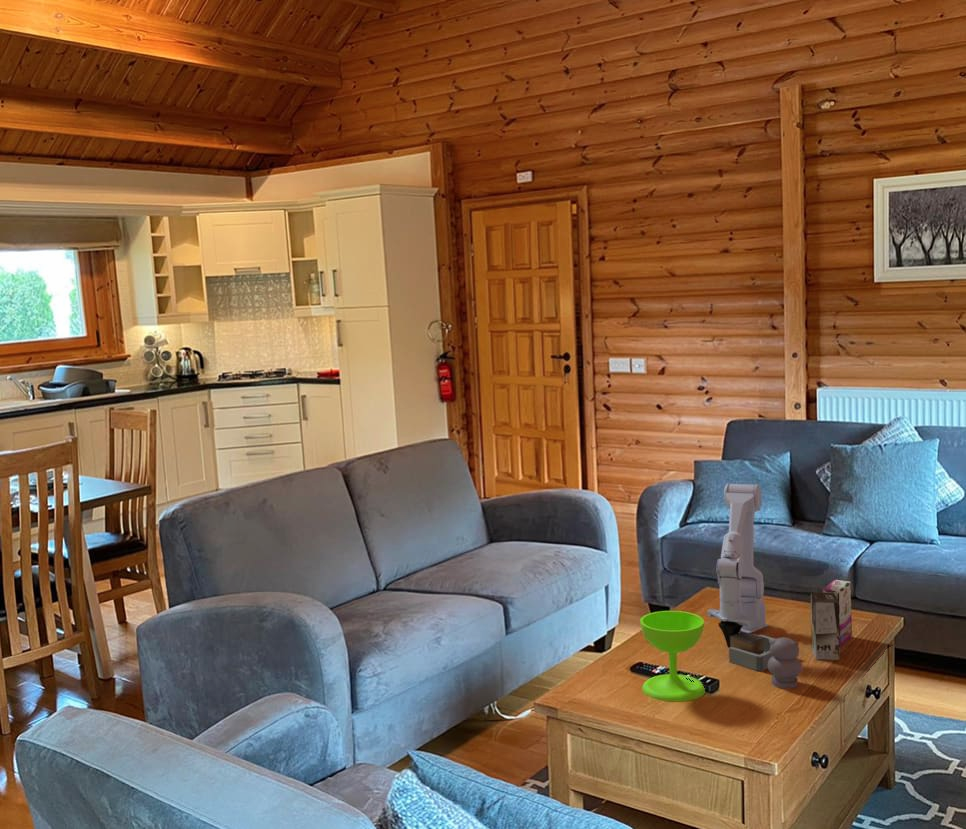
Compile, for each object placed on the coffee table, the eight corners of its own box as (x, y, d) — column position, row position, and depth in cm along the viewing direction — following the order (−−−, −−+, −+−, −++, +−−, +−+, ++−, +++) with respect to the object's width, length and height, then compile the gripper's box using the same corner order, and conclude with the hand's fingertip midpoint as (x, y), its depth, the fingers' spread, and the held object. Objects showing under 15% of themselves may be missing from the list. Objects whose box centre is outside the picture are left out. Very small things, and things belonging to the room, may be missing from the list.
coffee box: (840, 660, 261) (839, 602, 259) (815, 659, 262) (814, 602, 260) (835, 648, 270) (834, 592, 268) (810, 647, 271) (810, 591, 269)
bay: (760, 648, 272) (760, 634, 272) (791, 657, 265) (791, 643, 264) (729, 662, 263) (728, 647, 263) (760, 671, 256) (760, 657, 255)
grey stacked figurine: (805, 680, 248) (805, 635, 247) (798, 692, 242) (798, 645, 240) (772, 675, 253) (771, 631, 251) (764, 686, 246) (763, 641, 245)
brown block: (742, 650, 272) (742, 631, 271) (763, 656, 266) (763, 637, 266) (730, 655, 268) (730, 636, 268) (751, 661, 263) (751, 642, 262)
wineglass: (630, 683, 252) (628, 616, 250) (683, 672, 258) (681, 607, 256) (663, 706, 237) (660, 635, 235) (718, 694, 243) (716, 624, 241)
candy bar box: (834, 633, 281) (834, 578, 279) (852, 636, 278) (851, 581, 276) (822, 645, 272) (821, 589, 270) (840, 648, 269) (839, 591, 267)
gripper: (700, 597, 273) (701, 644, 275) (743, 608, 262) (744, 657, 263) (716, 592, 277) (717, 637, 279) (759, 602, 266) (759, 650, 268)
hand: (731, 646), depth 271 cm, fingers closed
